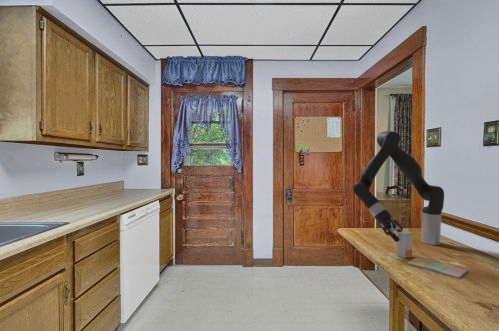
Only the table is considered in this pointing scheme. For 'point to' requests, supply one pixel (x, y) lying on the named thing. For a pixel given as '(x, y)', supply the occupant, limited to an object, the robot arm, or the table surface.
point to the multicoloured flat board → (438, 267)
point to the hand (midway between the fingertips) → (401, 239)
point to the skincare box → (405, 244)
